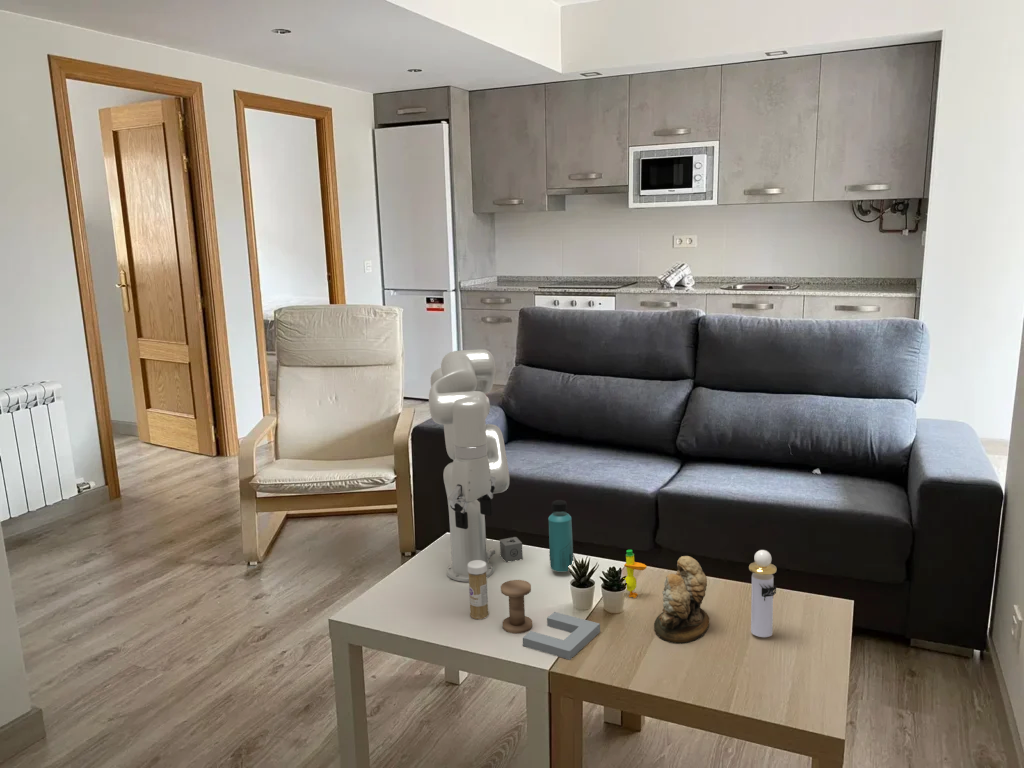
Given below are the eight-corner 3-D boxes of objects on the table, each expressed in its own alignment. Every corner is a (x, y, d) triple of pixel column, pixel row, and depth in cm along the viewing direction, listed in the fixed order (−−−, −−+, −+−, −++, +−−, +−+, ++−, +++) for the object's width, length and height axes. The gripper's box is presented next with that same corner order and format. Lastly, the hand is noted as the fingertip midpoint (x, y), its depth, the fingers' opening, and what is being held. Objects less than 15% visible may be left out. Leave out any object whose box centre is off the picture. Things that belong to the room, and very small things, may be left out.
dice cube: (522, 559, 223) (522, 542, 222) (506, 562, 221) (505, 545, 220) (516, 553, 228) (516, 536, 227) (500, 556, 226) (499, 539, 225)
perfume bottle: (742, 633, 177) (743, 549, 173) (761, 626, 180) (763, 543, 176) (761, 644, 172) (762, 557, 168) (780, 637, 175) (782, 552, 171)
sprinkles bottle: (466, 616, 190) (463, 564, 188) (479, 609, 194) (476, 557, 191) (480, 621, 188) (477, 568, 185) (492, 614, 191) (490, 562, 189)
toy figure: (648, 595, 197) (648, 550, 195) (644, 601, 194) (643, 555, 192) (623, 591, 200) (622, 546, 198) (618, 597, 197) (617, 551, 195)
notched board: (554, 619, 187) (554, 611, 187) (600, 631, 180) (599, 623, 180) (522, 645, 176) (522, 637, 175) (569, 659, 169) (569, 651, 169)
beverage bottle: (572, 578, 209) (570, 506, 206) (547, 576, 211) (545, 505, 207) (575, 567, 216) (573, 497, 212) (551, 566, 217) (549, 497, 213)
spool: (513, 616, 189) (511, 577, 188) (538, 623, 186) (536, 583, 184) (496, 629, 184) (494, 588, 182) (522, 636, 180) (520, 595, 178)
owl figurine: (668, 604, 192) (668, 538, 189) (716, 613, 187) (717, 545, 184) (645, 638, 177) (645, 566, 174) (698, 649, 171) (699, 575, 168)
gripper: (479, 440, 192) (483, 507, 195) (434, 458, 178) (439, 530, 181) (505, 444, 188) (508, 512, 191) (461, 462, 174) (465, 536, 177)
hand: (474, 521), depth 186 cm, fingers open, 9 cm apart
